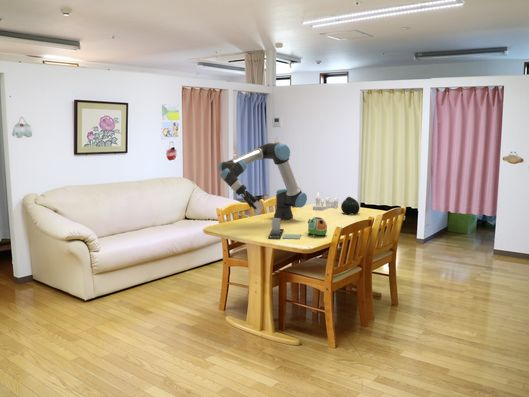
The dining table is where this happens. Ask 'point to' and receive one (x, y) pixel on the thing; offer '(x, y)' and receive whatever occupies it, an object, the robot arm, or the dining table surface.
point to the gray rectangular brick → (276, 226)
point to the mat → (291, 236)
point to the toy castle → (328, 203)
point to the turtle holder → (317, 226)
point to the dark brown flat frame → (275, 235)
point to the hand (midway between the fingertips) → (261, 210)
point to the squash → (350, 206)
